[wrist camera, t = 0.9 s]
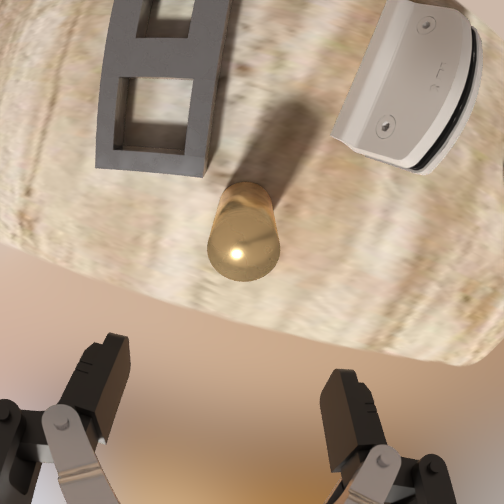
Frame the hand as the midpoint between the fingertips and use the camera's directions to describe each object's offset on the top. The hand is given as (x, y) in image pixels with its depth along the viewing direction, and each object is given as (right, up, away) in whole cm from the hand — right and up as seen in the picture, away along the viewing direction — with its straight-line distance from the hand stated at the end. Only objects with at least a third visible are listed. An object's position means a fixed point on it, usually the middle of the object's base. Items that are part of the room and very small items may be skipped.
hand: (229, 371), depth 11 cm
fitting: (0, +9, +19) cm, 20 cm away
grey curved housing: (+14, +21, +13) cm, 28 cm away
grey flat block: (-7, +21, +12) cm, 25 cm away
